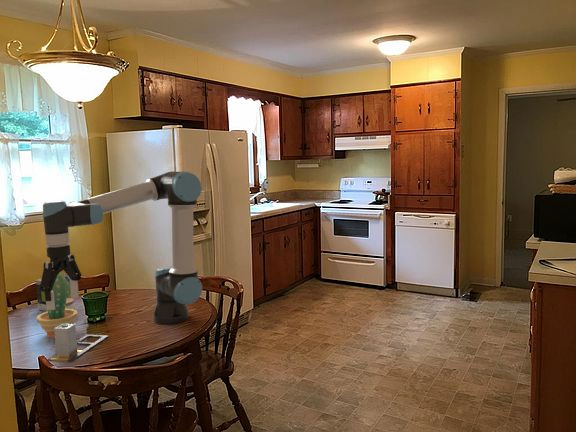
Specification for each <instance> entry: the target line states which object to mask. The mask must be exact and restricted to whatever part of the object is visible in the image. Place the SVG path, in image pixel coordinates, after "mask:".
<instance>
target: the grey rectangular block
mask: <svg viewBox="0 0 576 432" xmlns="http://www.w3.org/2000/svg"><path fill="white" fill-rule="evenodd" d="M54 334H55V337H54V342H55V343H54V345H55V354H56V358H67V359H69V358H71V357H72V356H74V355H75V354H77V353H78V352H77V350H78V344H77V340H78V339H77V328H76V323H73V324H61V325H59V326H57V327H56V328H54Z"/></svg>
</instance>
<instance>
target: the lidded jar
mask: <svg viewBox="0 0 576 432" xmlns="http://www.w3.org/2000/svg"><path fill="white" fill-rule="evenodd" d="M65 309H74V310H75V298H74V299H73V298H67V299H66V306H65Z"/></svg>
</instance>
